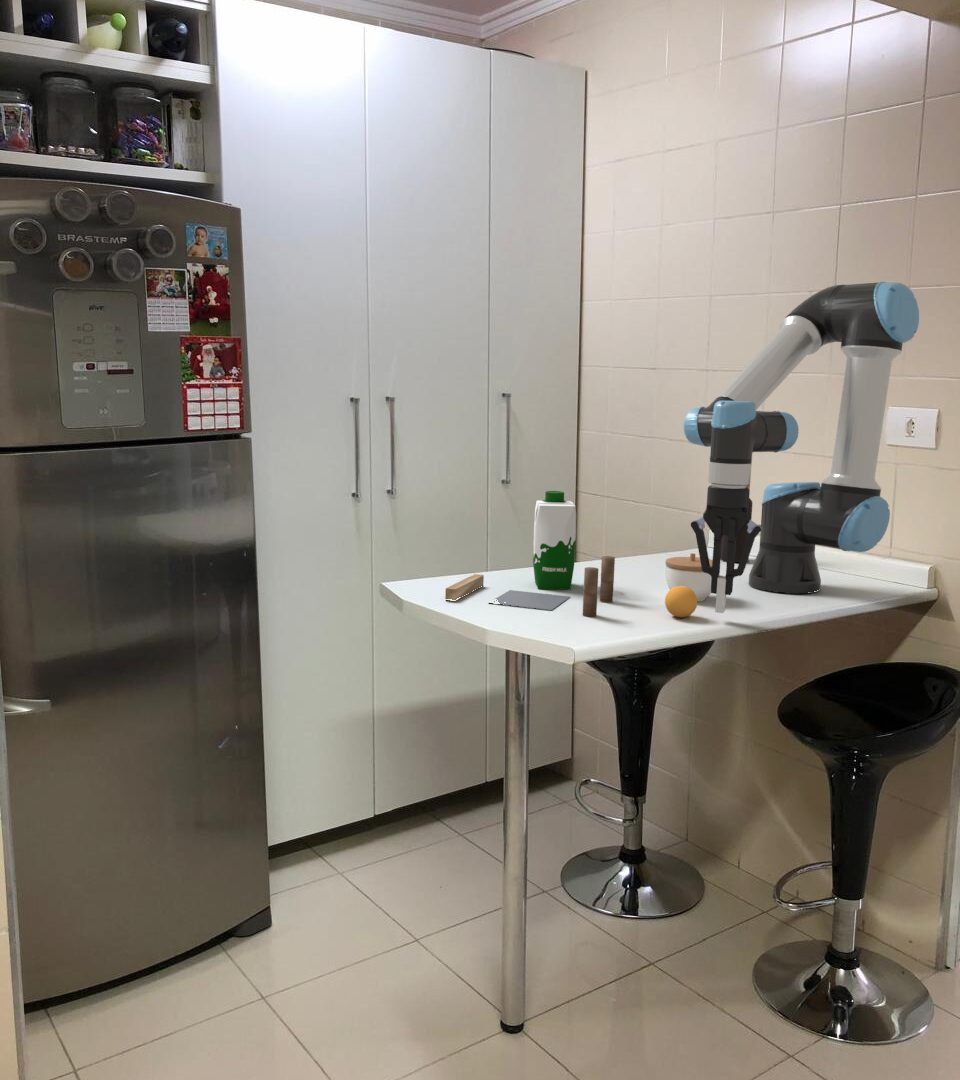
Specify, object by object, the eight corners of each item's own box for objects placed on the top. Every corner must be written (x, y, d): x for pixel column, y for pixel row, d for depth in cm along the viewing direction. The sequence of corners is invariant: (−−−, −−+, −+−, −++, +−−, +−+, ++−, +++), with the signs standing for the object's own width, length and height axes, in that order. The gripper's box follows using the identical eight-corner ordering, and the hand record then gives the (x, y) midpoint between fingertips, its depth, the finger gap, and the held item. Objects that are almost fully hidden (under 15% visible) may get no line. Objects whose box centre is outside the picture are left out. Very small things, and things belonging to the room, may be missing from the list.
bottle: (754, 562, 252) (760, 481, 249) (734, 564, 248) (740, 482, 245) (734, 557, 258) (739, 478, 254) (714, 559, 254) (719, 479, 251)
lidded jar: (716, 594, 214) (719, 550, 212) (717, 606, 203) (720, 559, 202) (664, 591, 216) (667, 547, 214) (662, 602, 206) (665, 556, 204)
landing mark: (570, 597, 207) (570, 596, 207) (551, 610, 195) (551, 609, 195) (510, 590, 212) (510, 590, 212) (488, 603, 200) (488, 602, 200)
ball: (698, 615, 195) (700, 584, 194) (693, 622, 189) (695, 590, 188) (667, 611, 197) (669, 581, 196) (661, 618, 192) (663, 587, 190)
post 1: (597, 614, 193) (600, 568, 192) (594, 617, 191) (596, 570, 190) (584, 613, 194) (586, 566, 193) (581, 615, 192) (583, 569, 190)
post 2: (614, 600, 206) (616, 556, 204) (611, 603, 203) (613, 558, 202) (601, 599, 206) (603, 555, 205) (598, 601, 204) (600, 557, 203)
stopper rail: (483, 586, 216) (483, 574, 215) (454, 601, 201) (454, 589, 200) (474, 585, 216) (474, 574, 216) (445, 600, 201) (445, 588, 201)
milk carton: (570, 582, 223) (574, 491, 219) (575, 591, 214) (579, 496, 210) (530, 581, 222) (533, 490, 219) (533, 590, 213) (537, 495, 210)
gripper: (767, 485, 188) (757, 610, 192) (695, 481, 192) (687, 603, 196) (764, 490, 181) (754, 619, 185) (689, 485, 185) (682, 611, 189)
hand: (720, 611), depth 190 cm, fingers closed
